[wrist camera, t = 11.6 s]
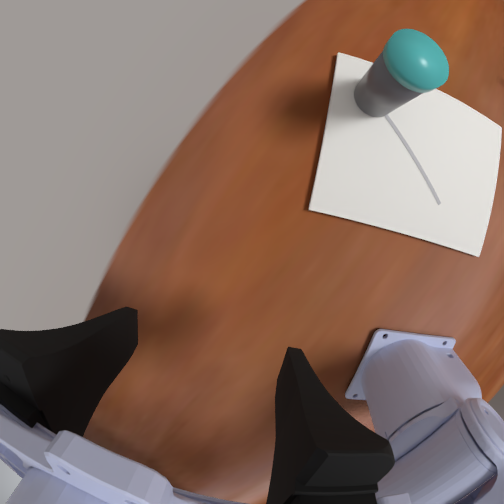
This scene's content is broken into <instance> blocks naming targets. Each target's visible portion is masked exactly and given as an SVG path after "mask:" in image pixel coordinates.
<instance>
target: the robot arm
mask: <svg viewBox="0 0 504 504" xmlns="http://www.w3.org/2000/svg"><path fill="white" fill-rule="evenodd" d="M384 334H387V335H386V336H384V337H383V335H384ZM444 341H445V342H444ZM443 342H444V343H443ZM455 342H456V341H455V339H454V338H452V337H443V336H434V335H425V334H417V333H409V332H401V331H394V330H387V329H377V330H376V331H375V332H374V334H373V337H372V339H371V341H370V343H369V346H368V348H367V350H366V352H365V354H364V357H363V359H362V361H361V363H360V365H359V367H358V369H357V371H356V373H355V375H354V377H353V379H352V381H351V383H350V385H349V387H348V389H347V391H346V393H345V396H346V398H347V399H357V400H366V401H367V404H368V408H369V411H370V415H371V418H372V422H373V425H374V429H375V432H376V433H374V432H373V431H371V430H369V429H368V428H367V427H365V426H364V425H362V424H361V423H360V422H358V421H357V420H356V419H354V418H353V417H352V416H351V415H350V414H349V413H347V412H346V411H345V410H344V409H343V408H342V407H341V406H340V405H339V404H338V403H337V402H336V401H335V400H334V398H333V397H332V396H331V395H330V394H329V393H328V391H327V390H326V389H325V387H324V386H323V385H322V383H321V382H320V380H319V379H318V377H317V376H316V374H315V372H314V371H313V369H312V367H311V366H310V364H309V362H308V360H307V359H306V357H305V355H304V353H303V351H302V350H301V349H298V348H292V347H288V348H287V352H286V355H285V358H284V361H283V364H282V367H281V370H280V373H279V376H278V379H277V386H276V395H275V418H276V442H275V451H274V460H273V467H272V474H271V480H270V486H269V492H268V497H267V502H266V504H454V503H455V504H504V422H503V420H502V418H501V417H500V416H499V415H498V413H497V412H496V411H495V410H494V409H493V408H492V407H491V406H490V405H489V404H488V403H487V402H486V401H484V400H483V399H482V396H481V390H480V386H479V384H478V382H477V381H476V379H475V378H474V377H473V375H472V374H471V373H470V371H469V370H468V369H467V367H466V366H465V365H464V363H463V362H462V361H461V360H460V358H459V357H458V356H457V354H456V353H455V352H454V351H453V347H454V345H455ZM137 345H138V325H137V310H136V309H132V308H129V307H124V308H121V309H118V310H115V311H113V312H110V313H107V314H105V315H102V316H99V317H97V318H94V319H91V320H88V321H85V322H82V323H79V324H76V325H72V326H67V327H63V328H58V329H51V330H42V331H14V330H4V329H1V330H0V459H1V460H2V461H3V462H5V463H6V464H7V465H8V466H9V467H10V468H11V469H12V470H13V471H15V472H16V473H17V474H18V475H19V476H20V477H22V478H23V479H22V480H21V482H20V483H19V485H18V486H17V487H16V489H15V490H14V492H13V493H12V495H11V496H10V498H9V499H8V501H7V502H6V504H247V503H240V502H234V501H228V500H223V499H218V498H213V497H208V496H204V495H200V494H196V493H192V492H188V491H184V490H181V489H177V488H174V487H172V486H171V484H170V483H169V481H168V480H167V478H166V477H164V476H163V475H161V474H160V473H158V472H157V471H156V470H154V469H151V468H149V467H147V466H145V465H143V464H141V463H138V462H136V461H133V460H131V459H128V458H126V457H123V456H121V455H119V454H116V453H114V452H112V451H110V450H107V449H105V448H103V447H101V446H99V445H97V444H95V443H93V442H91V441H89V440H87V439H85V438H83V435H84V432H85V430H86V428H87V425H88V423H89V421H90V419H91V417H92V415H93V413H94V411H95V409H96V407H97V405H98V403H99V401H100V400H101V398H102V396H103V394H104V393H105V391H106V390H107V388H108V387H109V386H110V384H111V383H112V382H113V381H114V379H115V378H116V377H117V375H118V374H119V373H120V371H121V370H122V369H123V367H124V366H125V365H126V363H127V362H128V361H129V359H130V358H131V356H132V354H133V352H134V350H135V349H136V347H137ZM355 394H356V395H355ZM493 475H494V476H493ZM492 476H493V477H492ZM491 477H492V478H491ZM488 479H489V480H488ZM487 480H488V481H487ZM483 483H484V484H483ZM479 486H480V487H479ZM476 488H477V489H476ZM475 489H476V490H475ZM472 491H473V492H472ZM469 493H470V494H469ZM468 494H469V495H468ZM466 495H467V496H466ZM465 496H466V497H465ZM462 498H463V499H462ZM459 500H460V501H459ZM457 501H458V502H457ZM456 502H457V503H456Z"/></svg>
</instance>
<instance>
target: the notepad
mask: <svg viewBox="0 0 504 504" xmlns="http://www.w3.org/2000/svg"><path fill="white" fill-rule="evenodd" d="M372 64H373V63H372V62H369V61H366V60H363V59H360V58H356V57H353V56H350V55H346V54H342V53H339V52H338V54H337V59H336V65H335V72H334V78H333V84H332V91H331V96H330V102H329V108H328V114H327V119H326V125H325V130H324V135H323V141H322V146H321V151H320V156H319V161H318V166H317V171H316V175H315V180H314V185H313V190H312V194H311V199H310V203H309V208H308V209H309V210H312V211H317V212H321V213H325V214H329V215H334V216H338V217H342V218H346V219H350V220H354V221H358V222H362V223H365V224H369V225H373V226H377V227H381V228H384V229H388V230H392V231H395V232H399V233H402V234H406V235H409V236H413V237H416V238H420V239H423V240H426V241H430V242H433V243H436V244H440V245H443V246H446V247H449V248H452V249H456V250H459V251H462V252H465V253H468V254H471V255H474V256H477V257H479V256H480V252H481V249H482V245H483V242H484V238H485V235H486V231H487V227H488V223H489V218H490V214H491V209H492V204H493V199H494V194H495V188H496V182H497V175H498V167H499V159H500V148H501V134H502V127H500V126H499V125H497V124H496V123H494V122H493V121H491V120H490V119H488V118H487V117H485V116H484V115H482V114H481V113H479V112H477V111H476V110H474V109H472V108H471V107H469V106H467V105H466V104H464V103H462V102H460V101H458V100H457V99H455V98H453V97H451V96H449V95H447V94H445V93H443V92H441V91H439V90H437V89H434V90H432V91H430V92H427V93H423V94H421V95H419V96H418V97H416V98H414V99H412V100H411V101H409V102H407V103H406V104H404V105H402V106H400V107H399V108H397V109H395V110H394V111H392V112H390V113H389V114H387V115H385V116H383V117H372V116H369V115H367V114H366V113H364V112H363V111H362V110H361V109H360V108H359V107H358V106H357V104H356V102H355V99H354V89H355V87H356V85H357V84H358V82H359V81H360V80H361V79H362V77H363V76H364V75H365V73H366V72H367V71H368V70H369V68H370V67H371V66H372Z"/></svg>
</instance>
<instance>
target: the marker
mask: <svg viewBox="0 0 504 504" xmlns="http://www.w3.org/2000/svg"><path fill="white" fill-rule="evenodd" d="M448 75H449V66H448V62H447V59H446V57H445V55H444V53H443V51H442V50H441V48H440V47H439V46H438V45H437V44H436V43H435V42H434V41H433V40H432V39H431V38H430V37H428V36H427V35H425V34H423V33H421V32H419V31H416V30H413V29H401V30H398V31H397V32H395V33H394V34H393V35H392V36H391V38H390V39H389V40H388V42H387V43H386V45H385V46H384V50H383V52H382V53H381V54H380V55H379V57H378V58H377V59H376V61H375V62H374V63H373V64H372V66H371V67H370V68H369V70H368V71H367V72H366V73H365V75H364V76H363V77H362V79H361V80H360V81H359V82H358V84H357V85H356V87H355V89H354V99H355V102H356V104H357V106H358V107H359V108H360V109H361V110H362V111H363V112H364V113H366V114H367V115H369V116H372V117H383V116H385V115H387V114H389V113H390V112H392V111H394V110H395V109H397V108H399V107H400V106H402V105H404V104H406V103H407V102H409V101H411V100H412V99H414V98H416V97H418V96H419V95H421V94H423V93H427V92H430V91H432V90H434V89H436V88H438V87H439V86H441V85H443V84H444V83H445V82H446V80H447V78H448Z"/></svg>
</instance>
